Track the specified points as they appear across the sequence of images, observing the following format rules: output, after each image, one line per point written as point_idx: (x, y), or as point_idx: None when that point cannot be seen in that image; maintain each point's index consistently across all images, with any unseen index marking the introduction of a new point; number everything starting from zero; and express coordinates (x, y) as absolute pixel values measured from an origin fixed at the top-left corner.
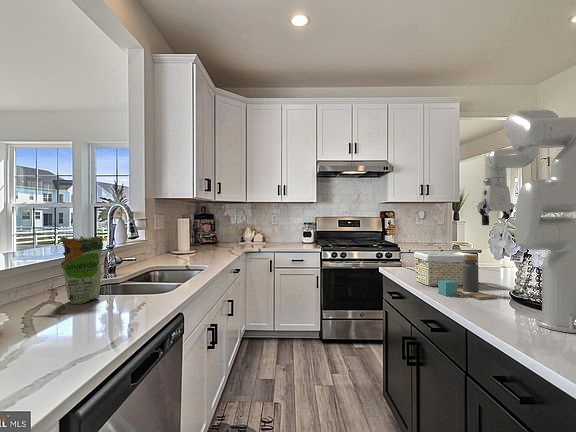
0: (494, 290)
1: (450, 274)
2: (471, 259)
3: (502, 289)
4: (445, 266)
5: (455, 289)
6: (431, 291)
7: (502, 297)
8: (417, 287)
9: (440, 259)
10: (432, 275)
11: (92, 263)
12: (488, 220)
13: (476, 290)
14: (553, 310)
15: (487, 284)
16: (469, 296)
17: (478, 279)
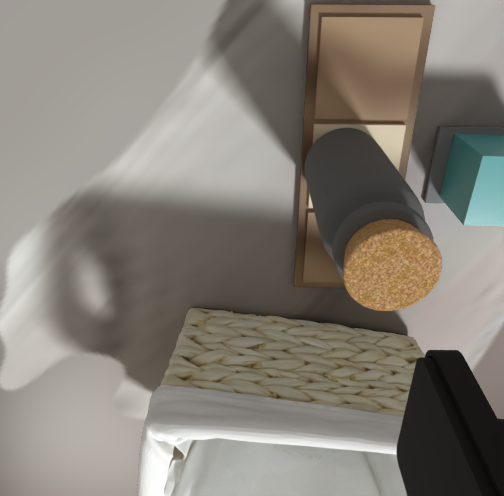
0: (158, 195)
1: (316, 355)
2: (409, 224)
3: (98, 207)
4: (352, 391)
5: (475, 142)
6: (491, 242)
7: (249, 31)
8: (477, 327)
9: (400, 425)
10: (409, 367)
11: None
12: (478, 427)
13: (342, 130)
14: None
15: (92, 318)
16: (418, 87)
17: (324, 163)
